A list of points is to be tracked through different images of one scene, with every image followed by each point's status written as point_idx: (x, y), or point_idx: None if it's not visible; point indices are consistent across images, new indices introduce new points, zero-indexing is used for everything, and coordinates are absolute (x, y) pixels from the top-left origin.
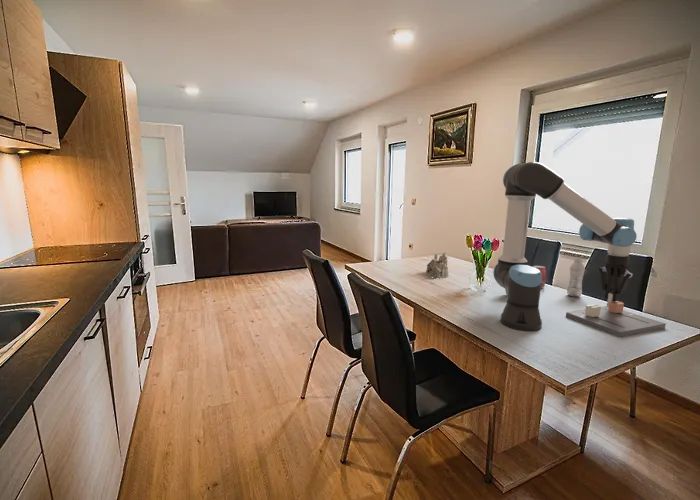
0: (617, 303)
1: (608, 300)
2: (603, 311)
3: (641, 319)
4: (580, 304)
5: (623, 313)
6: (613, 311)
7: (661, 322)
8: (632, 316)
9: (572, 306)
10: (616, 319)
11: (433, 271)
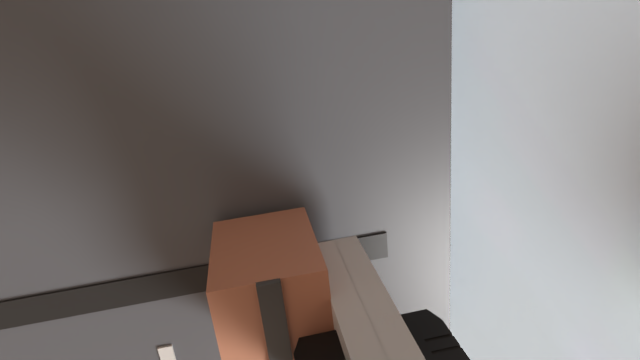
0: (237, 328)
1: (373, 294)
2: (321, 151)
3: (4, 353)
4: (626, 197)
5: None
6: (242, 223)
7: None
8: (112, 336)
9: (630, 58)
10: (9, 46)
11: None
